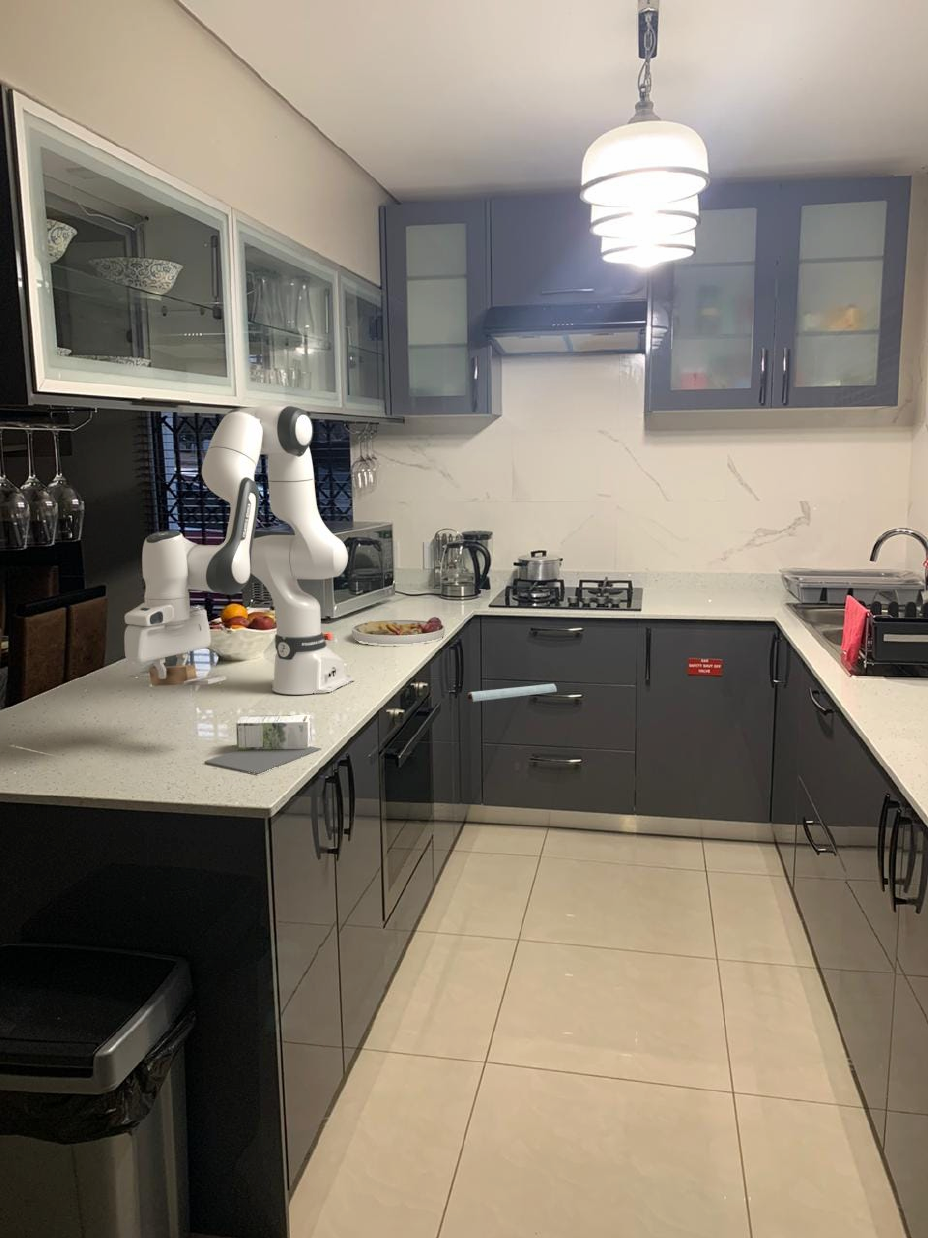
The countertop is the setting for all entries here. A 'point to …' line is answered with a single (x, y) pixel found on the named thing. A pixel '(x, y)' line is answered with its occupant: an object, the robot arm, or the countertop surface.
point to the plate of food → (399, 631)
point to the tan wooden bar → (182, 676)
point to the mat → (259, 759)
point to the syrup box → (274, 732)
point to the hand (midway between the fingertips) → (171, 676)
